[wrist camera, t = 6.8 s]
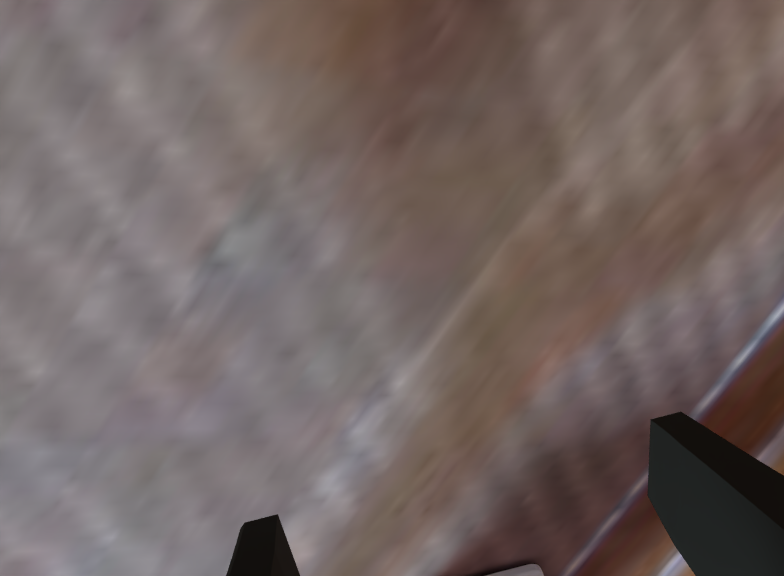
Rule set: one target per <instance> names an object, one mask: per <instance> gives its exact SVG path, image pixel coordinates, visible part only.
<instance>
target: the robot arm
mask: <svg viewBox="0 0 784 576" xmlns="http://www.w3.org/2000/svg"><path fill="white" fill-rule="evenodd" d="M648 497H649V499H650V501H651V503H652V505H653V507H654V508H655V510H656V512H657V514H658V516H659V518H660V520H661V522H662V524H663V525H664V527H665V529H666V531H667V532H668V534H669V536H670V538H671V540H672V541H673V543H674V545H675V546H676V548H677V549H678V551H679V552H680V554H681V555H682V557H683V558H684V560H685V561H686V562H687V564H688V565H689V567H690V568H691V570H692V571H693V572H694V574H695V575H696V576H784V476H783V475H782V474H780V473H778V472H777V471H775V470H773V469H772V468H770V467H768V466H767V465H765V464H763V463H762V462H760V461H759V460H757V459H755V458H754V457H752V456H750V455H749V454H747V453H746V452H744V451H742V450H741V449H739V448H738V447H736V446H734V445H733V444H731V443H730V442H728V441H727V440H725V439H723V438H722V437H720V436H719V435H717V434H716V433H714V432H712V431H711V430H709V429H708V428H706V427H705V426H703V425H701V424H700V423H698V422H697V421H695V420H693V419H692V418H690V417H689V416H687V415H685V414H684V413H682V412H678V413H674V414H670V415H666V416H663V417H659V418H655V419H651V425H650V450H649V475H648ZM226 576H300V574H299V571H298V569H297V566H296V563H295V560H294V558H293V555H292V552H291V549H290V547H289V544H288V541H287V538H286V536H285V533H284V530H283V527H282V525H281V522H280V519H279V516H278V514H277V515H273V516H269V517H265V518H261V519H258V520H254V521H250V522H246V523H244V525H243V526H242V527H241V529H240V532H239V536H238V539H237V543H236V546H235V550H234V553H233V556H232V559H231V562H230V566H229V569H228V572H227V575H226ZM485 576H544V574H543V572H542V570H541V567H540V566H539V565H537V564H528V565H524V566H520V567H516V568H513V569H509V570H505V571H501V572H497V573H493V574H489V575H485Z"/></svg>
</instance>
